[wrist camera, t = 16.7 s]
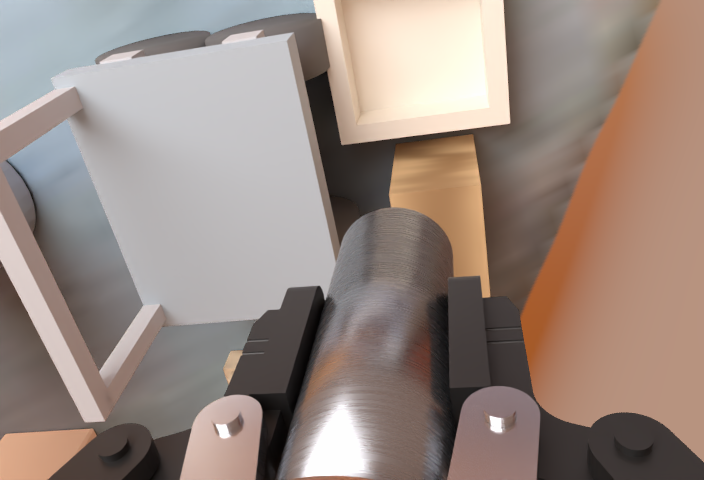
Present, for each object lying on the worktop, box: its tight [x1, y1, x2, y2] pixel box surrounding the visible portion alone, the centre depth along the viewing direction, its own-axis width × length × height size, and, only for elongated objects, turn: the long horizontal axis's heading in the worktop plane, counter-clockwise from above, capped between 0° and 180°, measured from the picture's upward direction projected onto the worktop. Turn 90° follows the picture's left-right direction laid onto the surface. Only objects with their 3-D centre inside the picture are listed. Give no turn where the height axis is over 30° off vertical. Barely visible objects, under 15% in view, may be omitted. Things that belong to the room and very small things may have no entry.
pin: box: [275, 207, 457, 480], centre depth 12 cm, size 4×4×10 cm
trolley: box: [0, 13, 360, 422], centre depth 31 cm, size 12×14×16 cm
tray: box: [313, 0, 510, 145], centre depth 33 cm, size 9×9×3 cm
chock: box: [389, 134, 490, 298], centre depth 36 cm, size 4×10×7 cm, turn 10°
